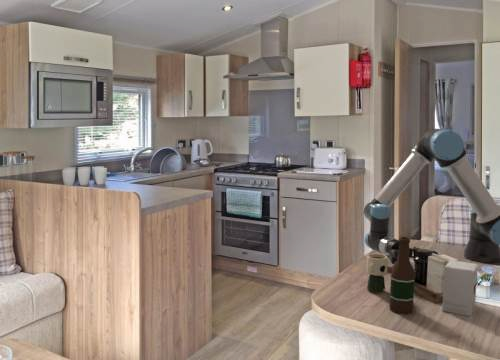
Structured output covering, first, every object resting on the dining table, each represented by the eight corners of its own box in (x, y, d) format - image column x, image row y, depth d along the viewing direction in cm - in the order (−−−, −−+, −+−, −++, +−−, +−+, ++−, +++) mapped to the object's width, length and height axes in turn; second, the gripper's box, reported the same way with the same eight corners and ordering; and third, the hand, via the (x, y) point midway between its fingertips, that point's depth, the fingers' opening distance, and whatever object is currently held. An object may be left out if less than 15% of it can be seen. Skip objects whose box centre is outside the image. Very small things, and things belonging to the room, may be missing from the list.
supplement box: (471, 317, 154) (474, 271, 152) (441, 311, 159) (444, 266, 157) (475, 307, 162) (478, 263, 160) (446, 302, 166) (449, 259, 164)
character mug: (379, 297, 170) (380, 261, 168) (360, 293, 174) (361, 257, 172) (391, 289, 178) (393, 254, 176) (372, 284, 183) (374, 250, 181)
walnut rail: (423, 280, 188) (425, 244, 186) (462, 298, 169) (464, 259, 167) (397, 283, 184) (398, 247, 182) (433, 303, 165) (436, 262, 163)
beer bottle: (385, 305, 163) (388, 234, 160) (407, 304, 164) (411, 234, 160) (393, 314, 155) (397, 241, 152) (417, 314, 156) (421, 240, 153)
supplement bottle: (433, 286, 176) (435, 253, 174) (413, 284, 177) (415, 252, 175) (430, 279, 182) (432, 248, 181) (410, 278, 184) (412, 247, 182)
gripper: (418, 254, 200) (456, 270, 180) (365, 260, 192) (399, 277, 172) (419, 236, 199) (457, 250, 179) (366, 241, 191) (400, 256, 171)
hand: (429, 263), depth 175 cm, fingers open, 13 cm apart
